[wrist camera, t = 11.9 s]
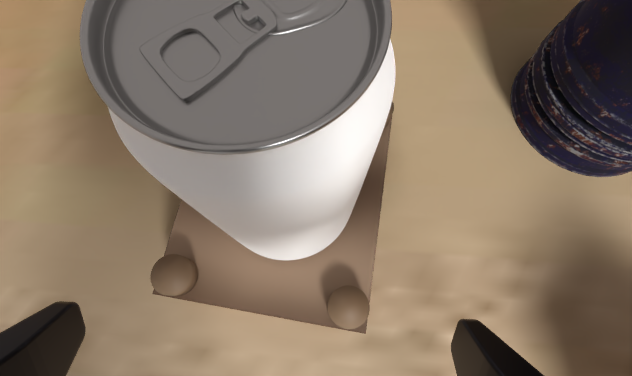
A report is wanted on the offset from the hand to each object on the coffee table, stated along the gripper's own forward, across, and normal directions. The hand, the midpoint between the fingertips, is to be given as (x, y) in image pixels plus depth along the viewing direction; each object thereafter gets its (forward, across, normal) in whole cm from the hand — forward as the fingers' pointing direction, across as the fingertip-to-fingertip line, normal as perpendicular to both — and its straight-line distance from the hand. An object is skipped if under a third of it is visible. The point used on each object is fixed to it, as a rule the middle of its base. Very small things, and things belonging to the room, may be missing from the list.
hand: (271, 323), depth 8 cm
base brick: (+12, 0, +4) cm, 13 cm away
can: (+10, 0, +2) cm, 10 cm away
